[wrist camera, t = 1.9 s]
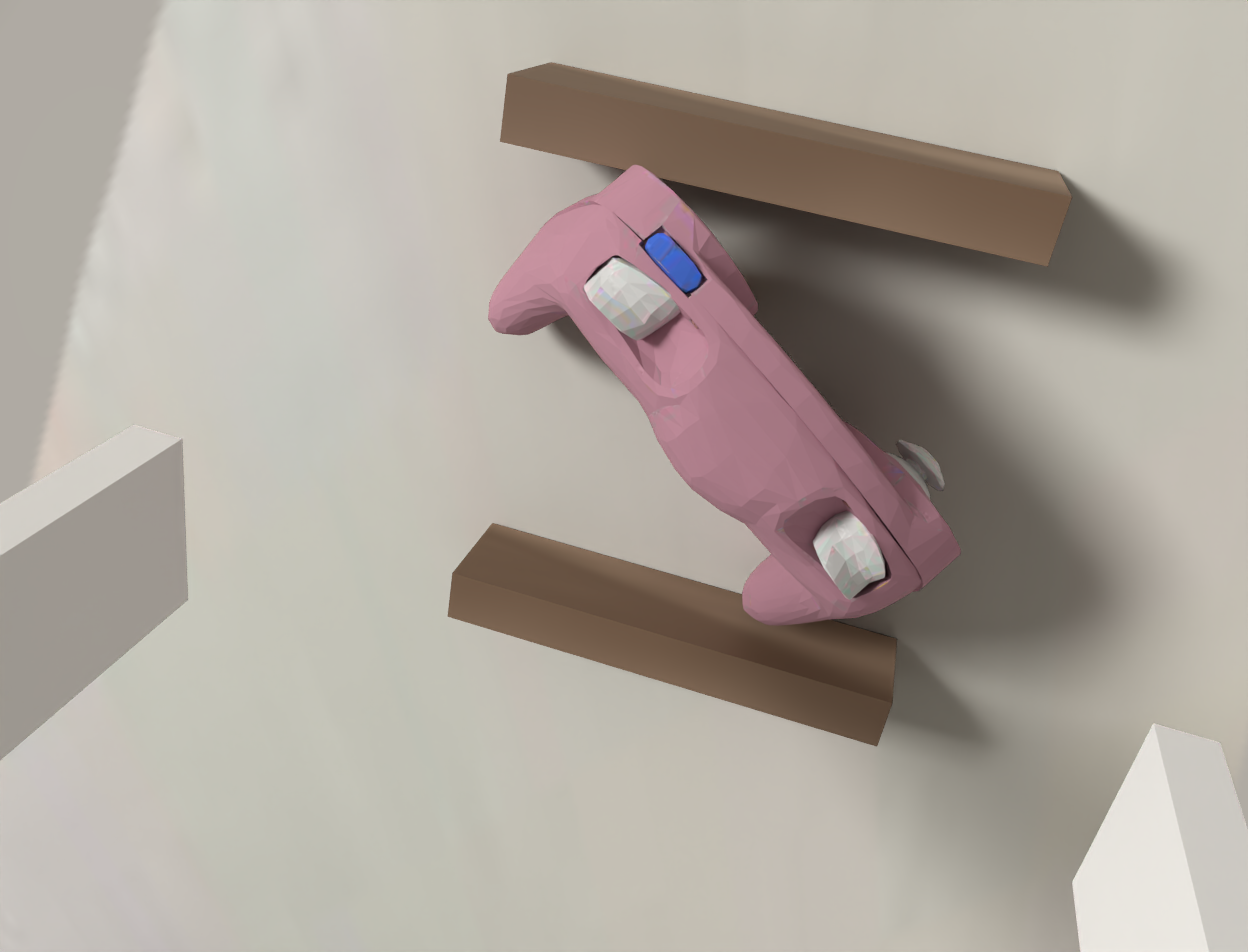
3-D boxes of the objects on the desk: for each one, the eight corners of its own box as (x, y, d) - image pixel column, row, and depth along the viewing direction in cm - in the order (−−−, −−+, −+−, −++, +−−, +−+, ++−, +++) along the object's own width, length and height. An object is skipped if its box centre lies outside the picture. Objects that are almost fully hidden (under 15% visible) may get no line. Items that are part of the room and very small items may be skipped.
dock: (882, 679, 26) (877, 746, 24) (487, 563, 27) (447, 616, 25) (1058, 171, 20) (1072, 197, 18) (550, 62, 22) (507, 74, 20)
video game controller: (905, 493, 25) (1052, 560, 19) (757, 623, 26) (848, 737, 19) (627, 158, 24) (673, 93, 17) (469, 298, 24) (451, 291, 17)
